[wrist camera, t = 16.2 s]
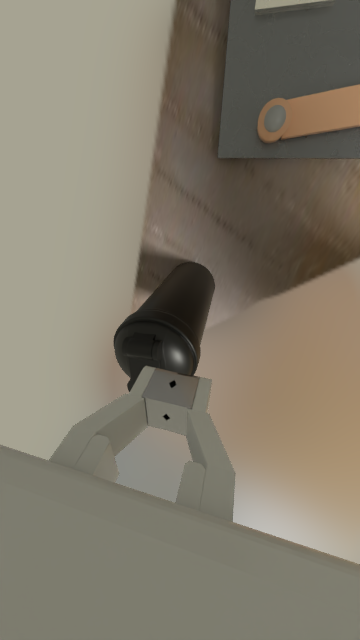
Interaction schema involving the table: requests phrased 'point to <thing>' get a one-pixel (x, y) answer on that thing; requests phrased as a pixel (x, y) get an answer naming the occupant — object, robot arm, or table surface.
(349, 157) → the label panel
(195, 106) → the table surface
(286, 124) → the swing bar
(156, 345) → the water bottle
